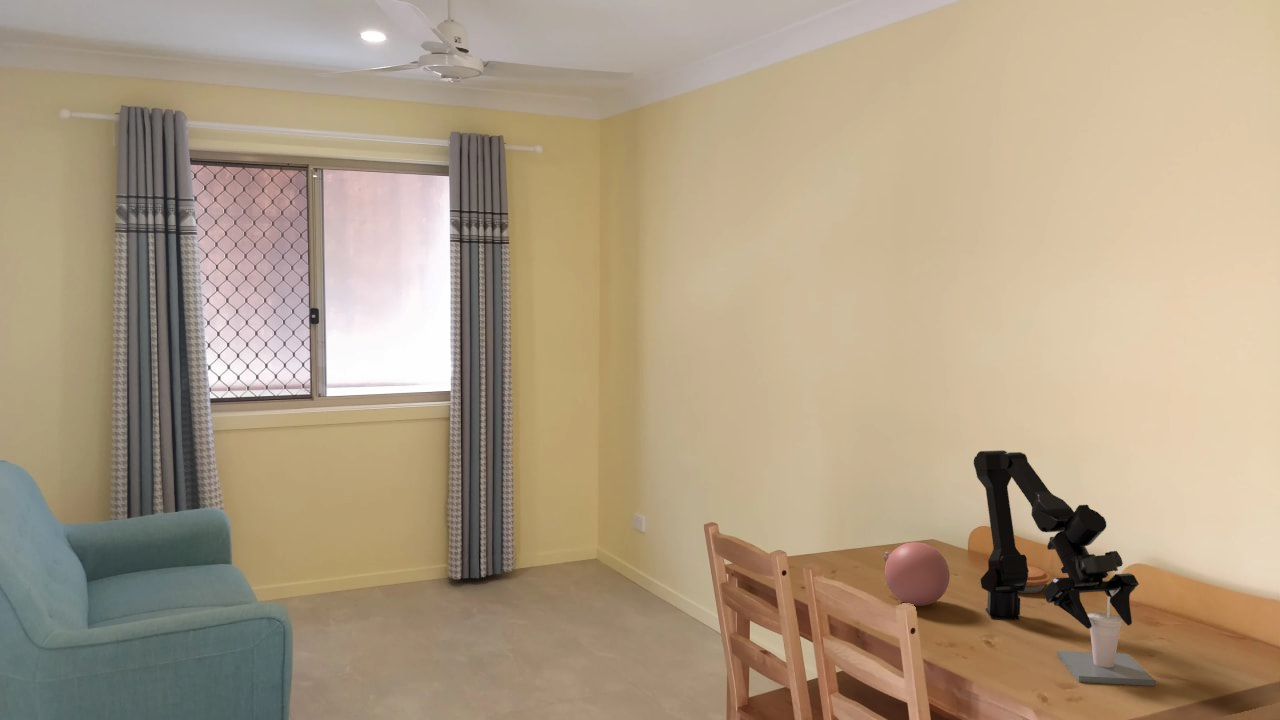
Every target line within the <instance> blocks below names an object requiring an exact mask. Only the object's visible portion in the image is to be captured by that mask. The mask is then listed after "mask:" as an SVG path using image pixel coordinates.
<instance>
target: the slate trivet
mask: <svg viewBox="0 0 1280 720" xmlns="http://www.w3.org/2000/svg"><path fill="white" fill-rule="evenodd" d="M1056 656H1057V657H1058V659H1059V660H1060V661H1061V662H1062V664H1063V665H1064V666H1065V668H1066V669H1067V670H1069V672H1070V673H1071V675H1072V676H1073V677H1074V678H1075V679H1076V681H1077V682H1078V683H1089V684H1090V683H1092V684H1109V685H1110V684H1112V685H1129V686H1131V685H1132V686H1146V687H1147V686H1150V687H1151V686H1152V687H1155V686H1156V679H1155V678H1154V677H1152V675H1151V674H1149V672H1147V671H1146V669H1144V667H1142V666H1141V665H1140V663H1138V662H1137V661H1136V660H1135V658H1133V657H1132V656H1131V655H1130V654H1129V653H1122V652H1121V653H1119V652H1118V653H1117V652H1116V656H1115V662H1114V666H1113V667H1110V668H1106V667H1100V666H1097V665H1095V664H1094V662H1093V652H1092V651H1077V650H1059V649H1058V650H1057V651H1056Z"/></svg>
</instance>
